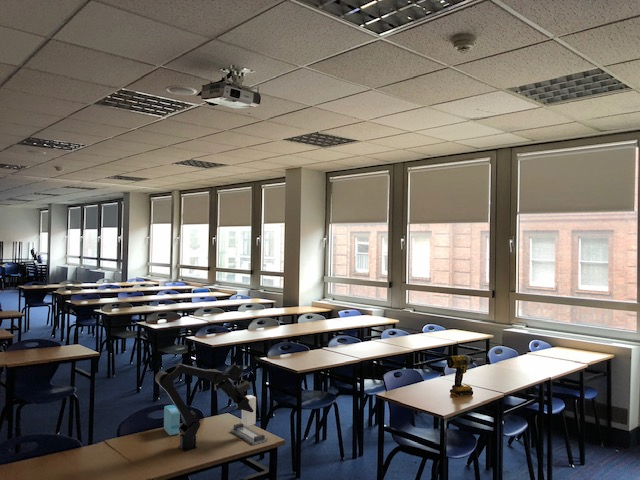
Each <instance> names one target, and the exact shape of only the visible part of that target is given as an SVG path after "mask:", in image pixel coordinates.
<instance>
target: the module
mask: <svg viewBox="0 0 640 480" xmlns="http://www.w3.org/2000/svg"><path fill="white" fill-rule="evenodd" d="M245 396H246V397H247V398H248V399H249V405H250V406H251V408H252V409H253V412H249V411H245V410H241V420H240V421H241V422H240V423H242V424H244V426H246V427H249V426H253V425H256V418H257V417H256V416H257V414H256V413H257V412H256V411H257V397H256V396H254V395H252V394H250V395H249V394H247V395H245Z"/></svg>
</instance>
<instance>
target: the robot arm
mask: <svg viewBox="0 0 640 480" xmlns="http://www.w3.org/2000/svg"><path fill="white" fill-rule="evenodd" d="M244 373H245V372H244V370H242V368H241V367H238V366H237V365H236V364H234V363H232V365H230V368H228V370H227V371H223V370H222V371H220V370H218V369H216V368H213V369H212V368H209V369H208V368H207V369H205V368H200V367H196V366H193V365H192V366H191V365H187V364H183V363H180V362H179V363H176V364H174V365H173V366H171V367H167V368H166V369H164V370H161V371H159V372H157V373H156V374H155V377H154V379H155V382H156V383H157V384H158V385H159V386H160V387H161V389H163V390H164V391H165V392H166V394H167V395H168V397H169V399H170V401H172V404H173V405H174V406H175V407H176V408H177V410H178V411H179V413H180V419H181V421H182V424H180V425H179V445H178V448H179V449H180V450H181V451H183V452H187V451H189V450H193V449H197V447H198V446H197V433H198V430H199V429H200V426H201V419H200V418H199V417H198V415H197V413H196V412H194V410H192V409H191V410H190V409H189V408H188V406H187V405H186V404H185V402H184V400H183V399H182V397H181V395H180V393H179V392H178V390H177V388H176V387H175V382H174V381H176V380H177V379H178V378H179V377H180V376H181V375H182V374H184V375H187V376H191V377H192V376H193V377H198V378H200V379H201V378H202V379H205V380H208V381H209V382H212V383H214V391H217V392H218V391H219V389H220V390H221V392H222V393H224V394H225V396H226V397H228V398H229V399H230V400H231V401H232V402H233V403H234V404H235V407H236V408H237V409H238V410H239V411H242V410H245V411H249V412H253V409H252V408H251V406H250V405H249V399H248V398H247V397H246V396H247V395H245V392H247V391H249V390H251V389H252V386H251V384H250V382H249V381H248V380H245V379H241V380H239V379H240V377H241V376H242V375H243V374H244ZM238 380H239V383H238V385H236V384H233V382H237V381H238Z"/></svg>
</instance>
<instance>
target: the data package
mask: <svg viewBox="0 0 640 480" xmlns="http://www.w3.org/2000/svg"><path fill="white" fill-rule="evenodd" d="M180 419H181V414H180V413H179V411H178V410H177V408H176V406H175V405H174V404H169V405H165V406H164V407H163V429H164V431H165V432H166V433H167V434H168V436H175V435H180V431H179V427H180Z"/></svg>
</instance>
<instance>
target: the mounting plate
mask: <svg viewBox="0 0 640 480" xmlns="http://www.w3.org/2000/svg"><path fill="white" fill-rule="evenodd" d="M230 432H231V433H232V434H234V435H235V436H237V437H239V438H241V439H242V440H244V441H246V442H248V443H249V444H250V445H252V446H255V445H259V444H262V442H263V443H265V442H268V440H269V438H267V437H266V435H265V434H260V433H259V432H256V431H254V430H253V429H251V428H250V427H249V426H246V425H244V424H242V423H241V422H240V423H236V424H233V428H230ZM258 443H259V444H258Z"/></svg>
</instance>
